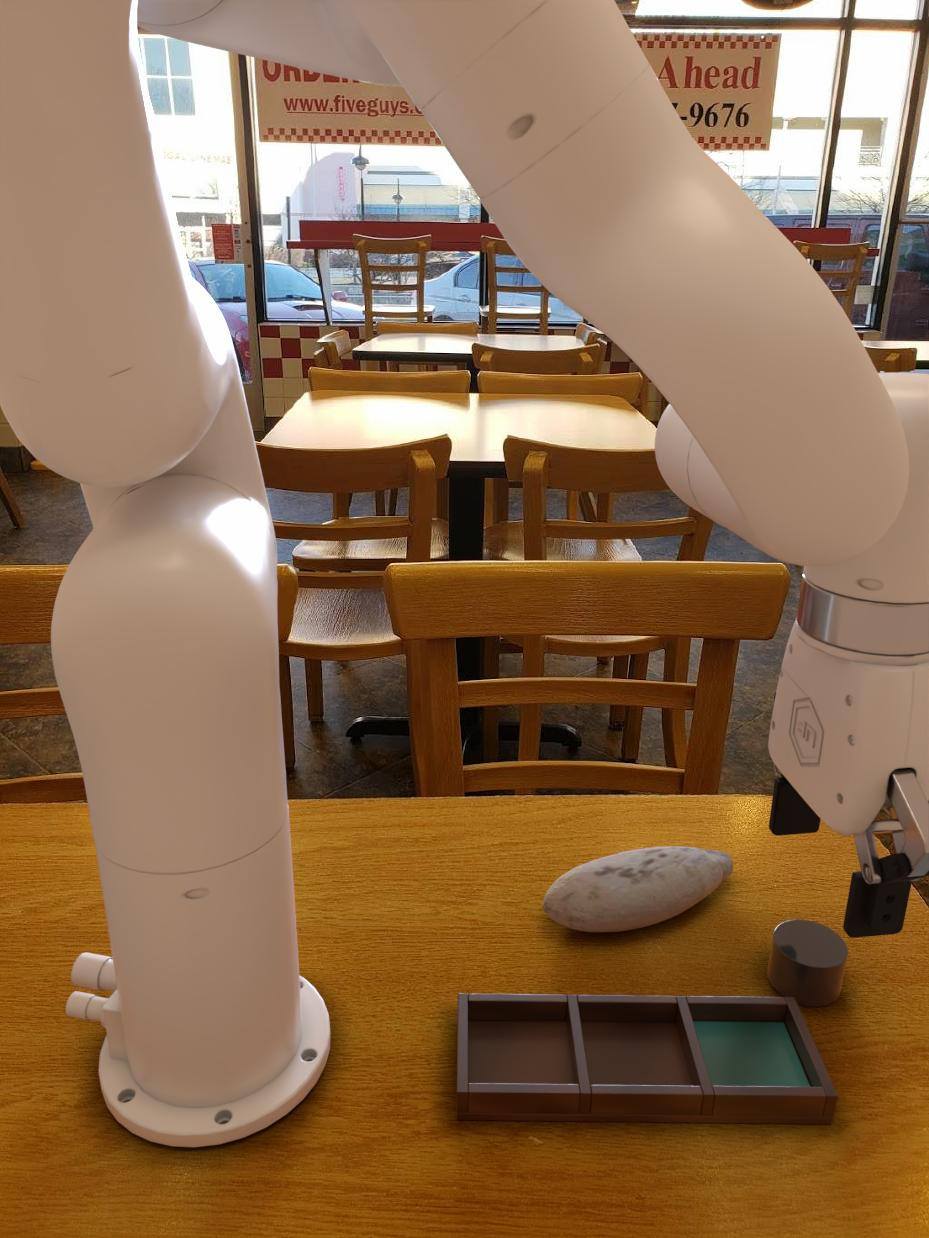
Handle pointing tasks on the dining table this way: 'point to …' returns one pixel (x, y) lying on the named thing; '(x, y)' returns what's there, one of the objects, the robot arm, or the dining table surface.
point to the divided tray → (639, 1060)
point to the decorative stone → (635, 888)
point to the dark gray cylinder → (807, 962)
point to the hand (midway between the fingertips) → (829, 878)
